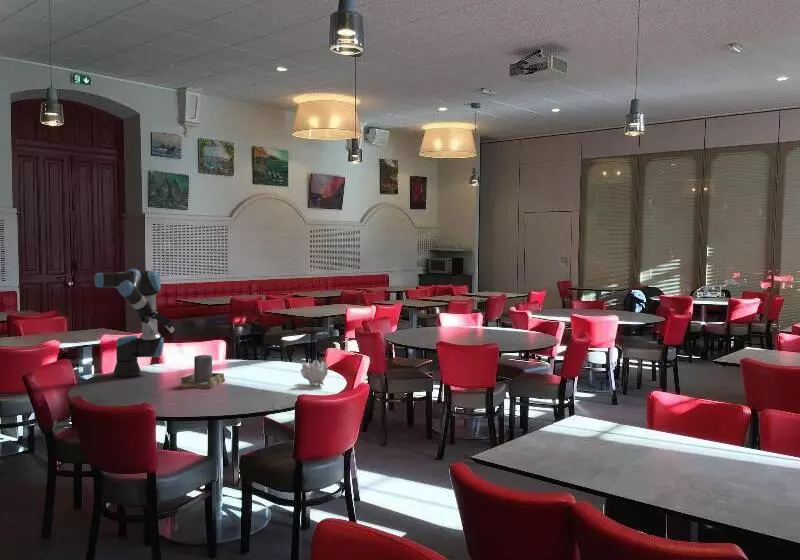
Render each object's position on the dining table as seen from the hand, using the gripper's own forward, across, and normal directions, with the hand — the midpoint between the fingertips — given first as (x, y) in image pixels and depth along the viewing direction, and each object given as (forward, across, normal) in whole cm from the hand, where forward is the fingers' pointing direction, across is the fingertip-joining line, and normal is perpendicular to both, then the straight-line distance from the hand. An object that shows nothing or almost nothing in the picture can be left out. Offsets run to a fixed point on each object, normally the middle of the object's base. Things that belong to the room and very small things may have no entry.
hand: (164, 330), depth 361 cm
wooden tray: (+35, +11, -10) cm, 38 cm away
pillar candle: (+33, +11, -9) cm, 36 cm away
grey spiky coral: (+56, +65, +11) cm, 86 cm away
